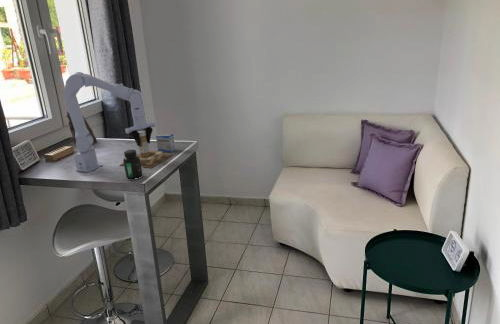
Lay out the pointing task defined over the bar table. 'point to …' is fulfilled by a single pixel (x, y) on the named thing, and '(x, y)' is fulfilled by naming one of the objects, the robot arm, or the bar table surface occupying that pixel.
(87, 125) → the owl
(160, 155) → the socket block
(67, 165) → the bar table surface
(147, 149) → the sprinkles bottle
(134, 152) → the supplement bottle
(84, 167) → the robot arm
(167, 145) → the medicine box
